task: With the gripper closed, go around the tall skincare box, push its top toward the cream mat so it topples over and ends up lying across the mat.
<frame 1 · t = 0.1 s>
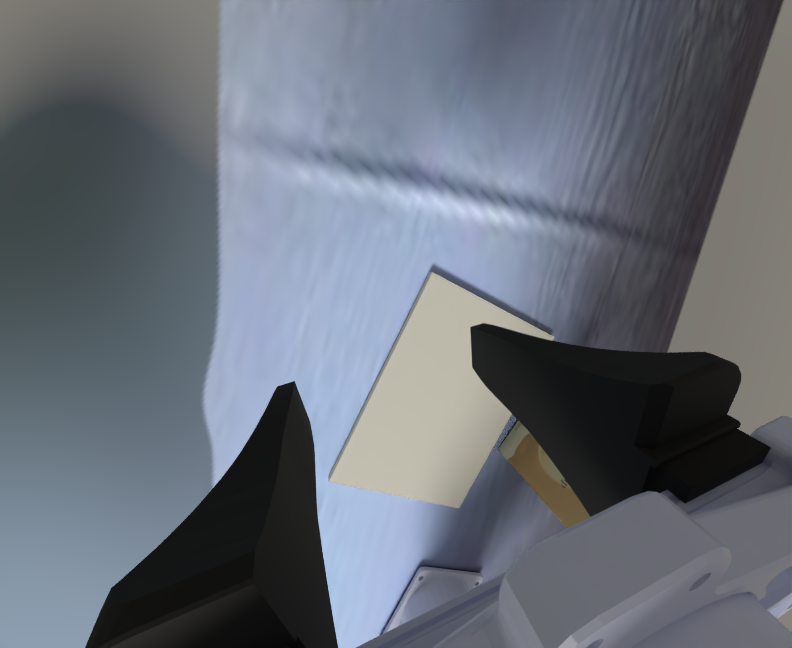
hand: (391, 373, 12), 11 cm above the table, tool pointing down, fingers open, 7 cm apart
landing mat: (444, 402, 26), on the table
skincare box: (527, 431, 30), on the table
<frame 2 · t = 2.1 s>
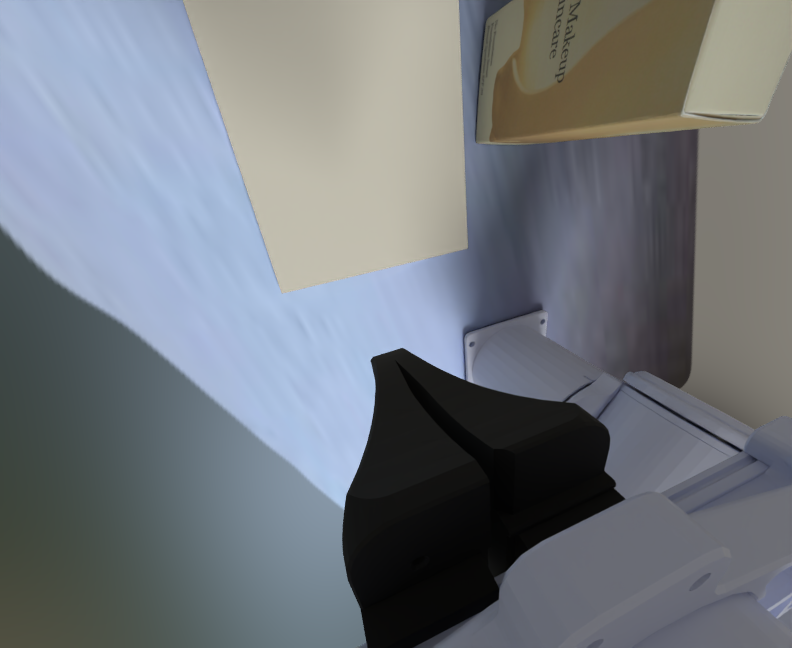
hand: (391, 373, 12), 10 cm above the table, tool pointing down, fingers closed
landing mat: (351, 110, 17), on the table
skincare box: (506, 91, 19), on the table
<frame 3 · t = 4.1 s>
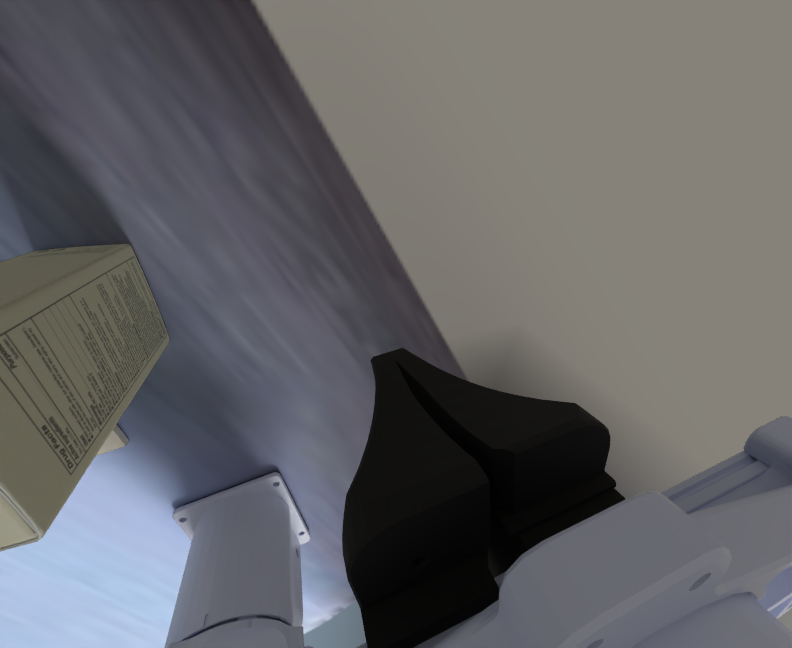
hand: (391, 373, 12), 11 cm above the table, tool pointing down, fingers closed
skincare box: (112, 302, 18), on the table
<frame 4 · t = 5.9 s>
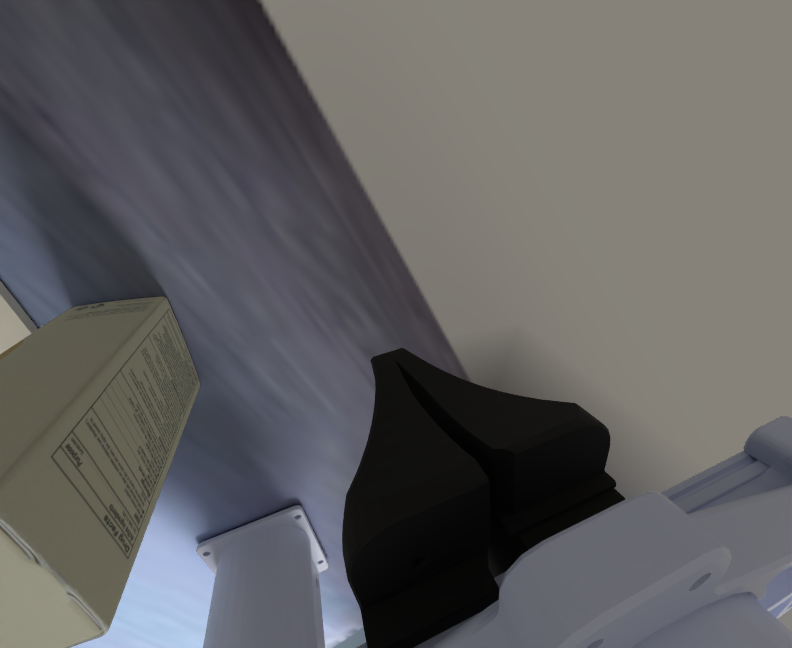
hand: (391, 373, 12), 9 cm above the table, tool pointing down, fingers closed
skincare box: (146, 351, 18), on the table
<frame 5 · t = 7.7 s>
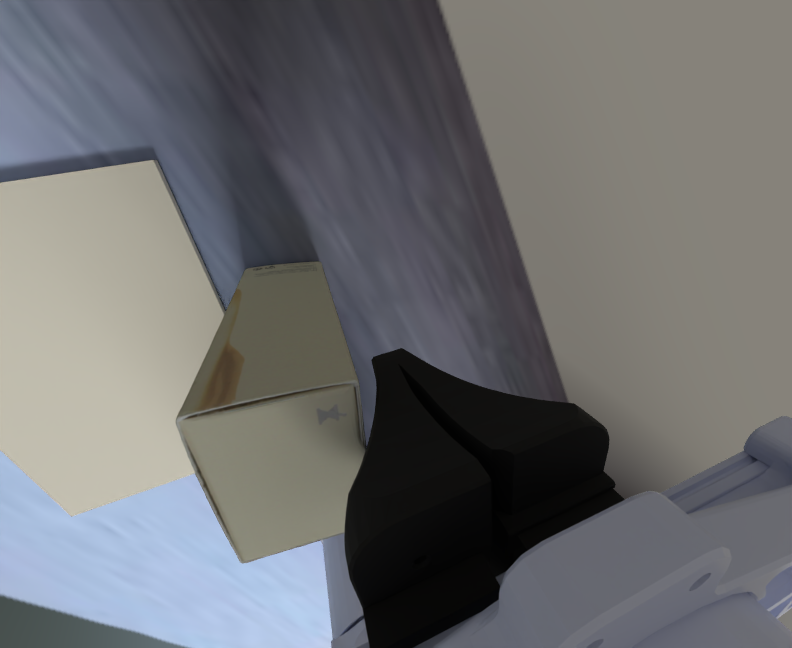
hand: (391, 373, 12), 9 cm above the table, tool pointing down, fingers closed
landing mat: (110, 363, 17), on the table
skincare box: (293, 313, 19), on the table, touching gripper
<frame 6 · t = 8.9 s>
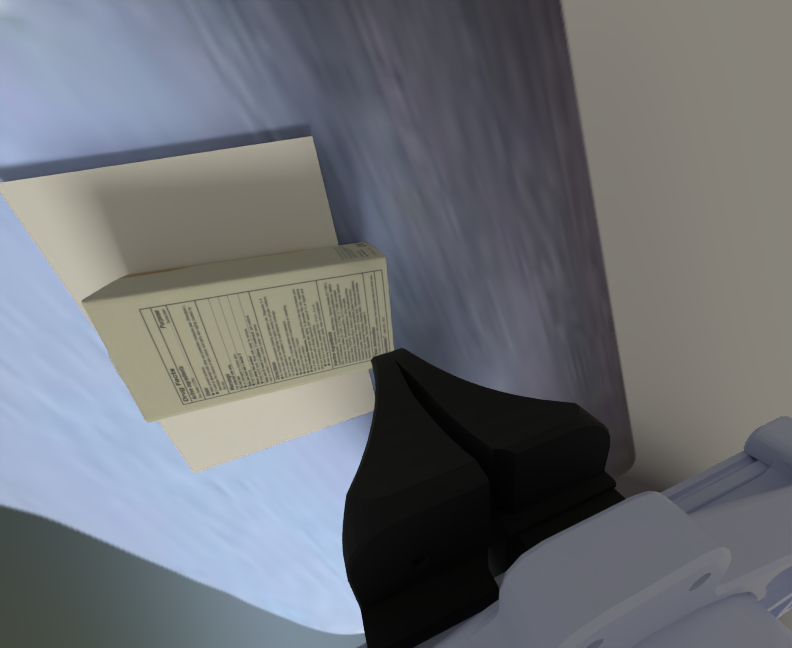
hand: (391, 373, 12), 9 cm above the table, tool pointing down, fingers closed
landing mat: (245, 327, 19), on the table
skincare box: (385, 302, 18), point 3 cm above the table, touching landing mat
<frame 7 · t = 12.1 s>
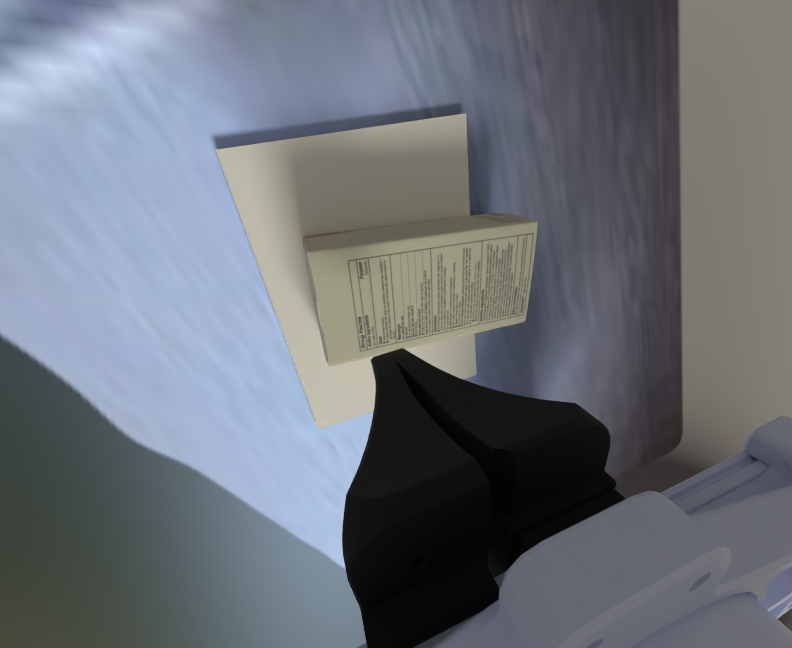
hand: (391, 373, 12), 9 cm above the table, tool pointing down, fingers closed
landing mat: (380, 291, 20), on the table
skincare box: (513, 268, 20), point 3 cm above the table, touching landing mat
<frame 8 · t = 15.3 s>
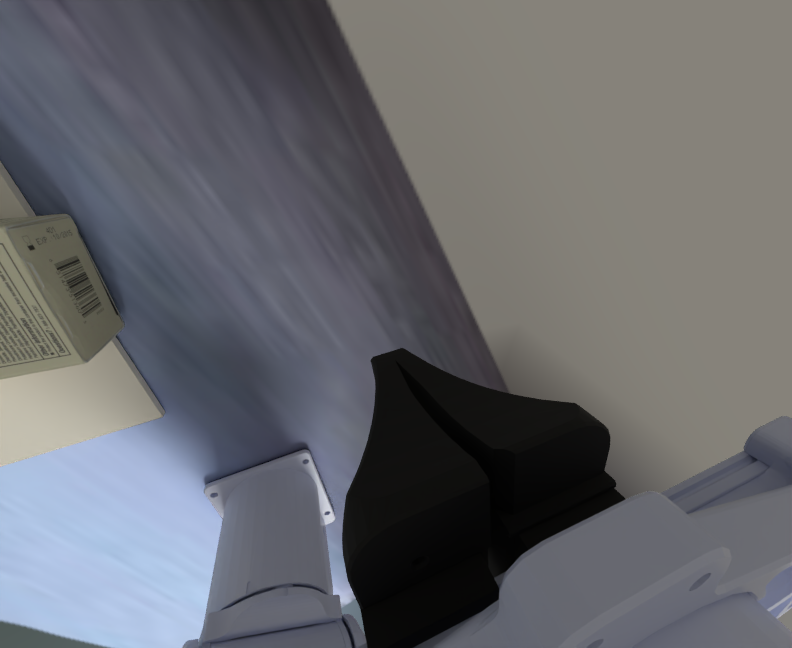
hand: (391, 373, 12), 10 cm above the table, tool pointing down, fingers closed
skincare box: (87, 288, 14), point 3 cm above the table, touching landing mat
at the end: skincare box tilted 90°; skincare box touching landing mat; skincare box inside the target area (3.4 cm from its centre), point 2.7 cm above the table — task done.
